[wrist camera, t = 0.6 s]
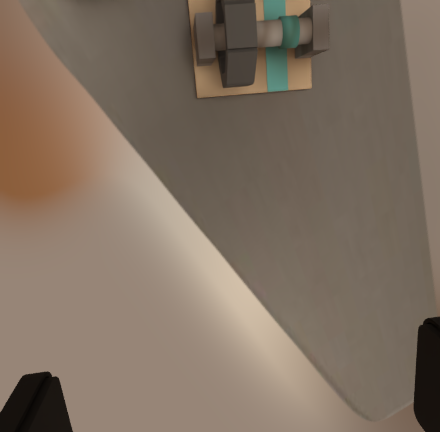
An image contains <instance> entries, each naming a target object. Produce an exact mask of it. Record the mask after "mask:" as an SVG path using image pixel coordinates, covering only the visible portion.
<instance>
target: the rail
mask: <svg viewBox="0 0 440 432" xmlns="http://www.w3.org/2000/svg"><path fill="white" fill-rule="evenodd" d="M255 3H256V21H257V40H258V47H257V50H258V53H257V62H256V72H255V81H254V84H252V85H250V86H243V87H231V88H223V86H222V80H221V75H220V69H219V62H218V51H222V50H226V42H225V28H224V23H221V24H216V22H215V0H188V8H189V18H190V29H191V39H192V50H193V61H194V71H195V82H196V92H197V98H205V97H217V96H229V95H241V94H253V93H265V92H277V91H289V90H301V89H310V88H311V57H312V56H314V55H317V54H319V53H321V52H324V51H326V50H328V49H329V4H319V5H312V6H311V7H310V0H255Z"/></svg>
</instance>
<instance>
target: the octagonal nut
mask: <svg viewBox="0 0 440 432" xmlns="http://www.w3.org/2000/svg"><path fill="white" fill-rule="evenodd" d="M215 22H216V24H221V23H224V28H225V42H226V50H222V51H218V62H219V69H220V75H221V80H222V86H223V88H231V87H243V86H250V85H252V84H254V81H255V72H256V62H257V53H258V50H257V47H258V40H257V21H256V3H255V0H215Z"/></svg>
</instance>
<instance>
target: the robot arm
mask: <svg viewBox="0 0 440 432" xmlns="http://www.w3.org/2000/svg"><path fill="white" fill-rule="evenodd" d="M414 413H415V416H416V419H417V421H418V422H419V424H420V425H421V427H422V428H423V429H424V431H425V432H440V317H433V318H427V319H425V321H424V322H423V325H420V326H419V329H418V341H417V358H416V375H415V391H414ZM0 432H73V431H72V427H71V423H70V419H69V415H68V412H67V408H66V404H65V400H64V396H63V393H62V388H61V385H60V381H59V378H58V377H52V375H51V373H50V372H40V373H33V374H26V375H24V376H22V378H21V379H20V381H19V382H18V384H17V386H16V387H15V389H14V391H13V392H12V394H11V396H10V398H9V399H8V401H7V402H6V404H5V406H4V408H3V409H2V411H1V412H0Z"/></svg>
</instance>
